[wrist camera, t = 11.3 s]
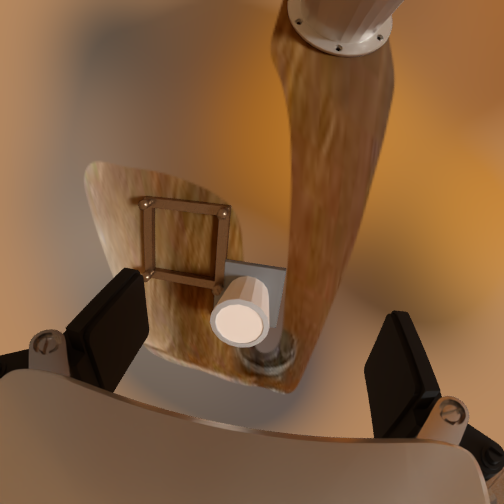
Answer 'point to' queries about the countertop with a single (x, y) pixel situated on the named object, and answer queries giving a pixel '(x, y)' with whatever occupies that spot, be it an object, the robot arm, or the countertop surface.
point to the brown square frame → (188, 206)
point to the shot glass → (242, 313)
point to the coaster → (264, 273)
